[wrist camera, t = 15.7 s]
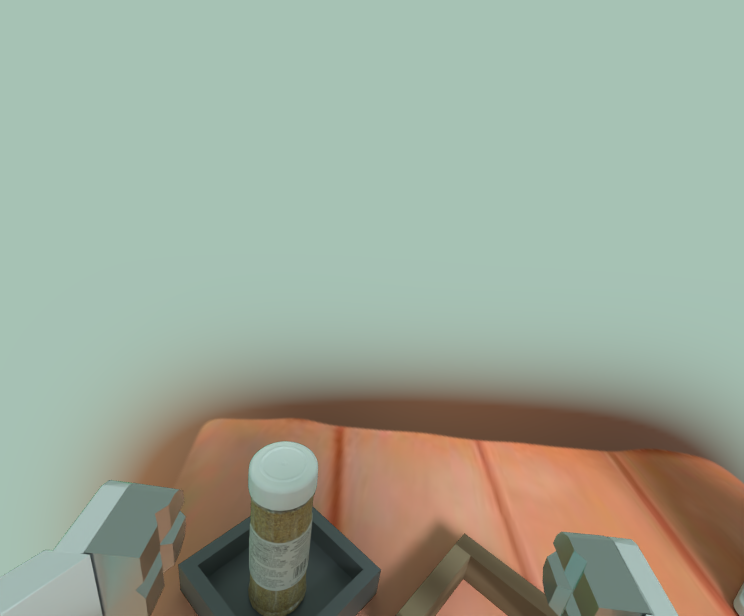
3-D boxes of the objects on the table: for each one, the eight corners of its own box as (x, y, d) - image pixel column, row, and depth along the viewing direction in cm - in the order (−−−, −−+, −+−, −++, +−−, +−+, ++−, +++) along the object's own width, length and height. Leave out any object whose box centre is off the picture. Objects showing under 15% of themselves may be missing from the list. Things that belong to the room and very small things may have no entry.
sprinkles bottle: (279, 552, 38) (286, 429, 32) (318, 588, 35) (333, 462, 30) (234, 593, 34) (233, 462, 29) (274, 635, 32) (281, 502, 26)
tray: (290, 510, 42) (292, 487, 41) (376, 593, 36) (380, 569, 35) (180, 589, 35) (178, 564, 33) (265, 713, 28) (266, 688, 27)
